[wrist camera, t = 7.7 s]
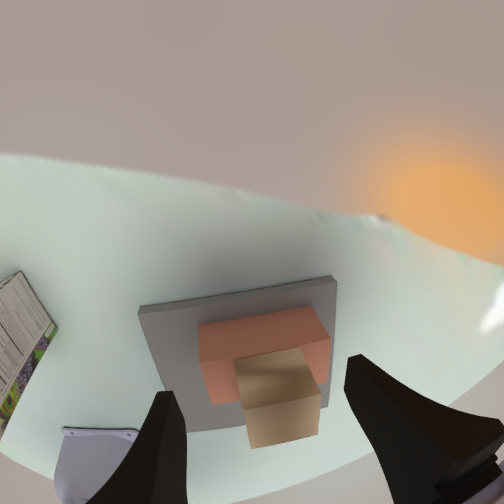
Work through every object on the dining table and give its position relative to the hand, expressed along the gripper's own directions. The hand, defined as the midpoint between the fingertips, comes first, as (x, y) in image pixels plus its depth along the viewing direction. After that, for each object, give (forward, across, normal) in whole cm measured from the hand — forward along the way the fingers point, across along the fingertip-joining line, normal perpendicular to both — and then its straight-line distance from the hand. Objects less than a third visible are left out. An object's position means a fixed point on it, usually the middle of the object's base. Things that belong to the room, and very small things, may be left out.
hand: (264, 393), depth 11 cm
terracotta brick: (+9, -1, +4) cm, 10 cm away
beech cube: (+5, -1, +5) cm, 7 cm away
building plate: (+10, 0, +8) cm, 13 cm away
